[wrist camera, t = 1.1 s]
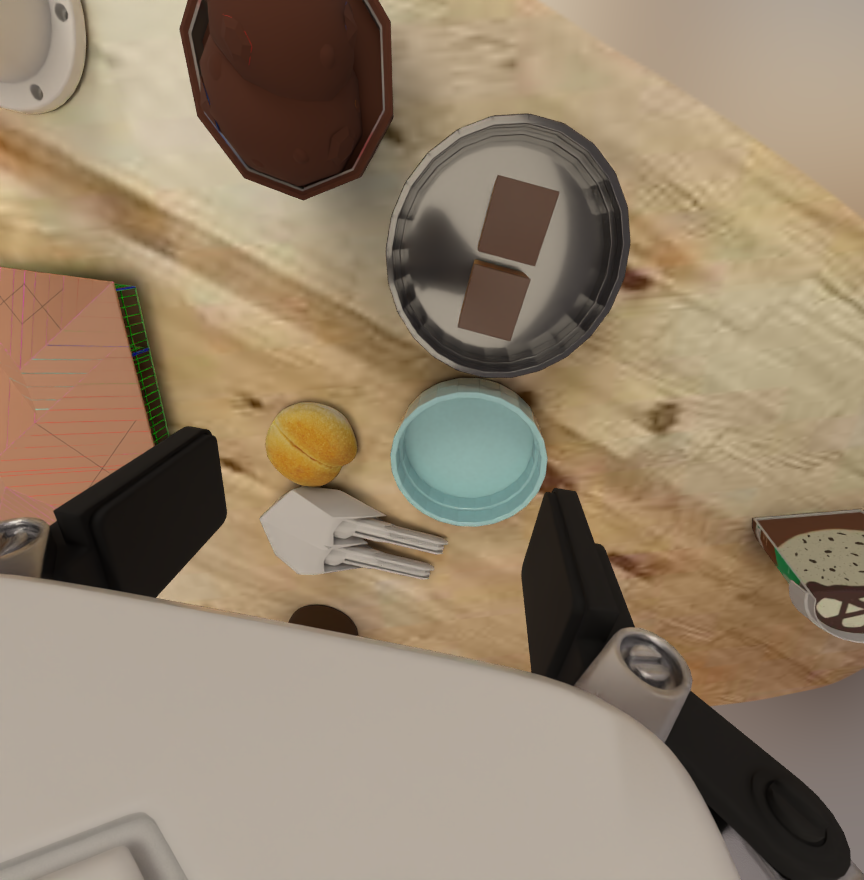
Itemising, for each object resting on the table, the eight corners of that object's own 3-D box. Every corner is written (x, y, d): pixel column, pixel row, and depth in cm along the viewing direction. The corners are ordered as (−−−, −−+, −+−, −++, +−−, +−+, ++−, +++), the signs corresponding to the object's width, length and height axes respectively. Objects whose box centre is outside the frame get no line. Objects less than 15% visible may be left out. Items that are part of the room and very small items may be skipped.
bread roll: (373, 435, 40) (364, 455, 37) (322, 486, 44) (309, 509, 40) (307, 379, 38) (290, 395, 35) (259, 438, 42) (239, 457, 38)
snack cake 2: (459, 315, 34) (457, 327, 29) (474, 259, 32) (474, 263, 27) (506, 327, 34) (510, 341, 30) (523, 272, 32) (531, 278, 27)
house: (29, 529, 52) (-43, 577, 45) (-104, 245, 36) (-248, 249, 29) (202, 556, 51) (157, 610, 44) (142, 277, 35) (56, 289, 28)
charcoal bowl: (380, 335, 36) (369, 347, 32) (421, 100, 28) (413, 81, 24) (561, 382, 36) (571, 400, 32) (652, 164, 28) (678, 154, 24)
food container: (728, 564, 43) (792, 650, 35) (735, 519, 41) (807, 600, 32) (861, 556, 41) (966, 645, 32) (879, 507, 38) (999, 590, 30)
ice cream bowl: (277, -15, 26) (67, -270, 13) (441, 53, 27) (405, -124, 13) (258, 173, 31) (92, 131, 18) (397, 226, 32) (338, 223, 18)
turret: (422, 570, 51) (423, 603, 47) (260, 533, 47) (246, 565, 43) (452, 512, 46) (457, 543, 42) (275, 465, 42) (261, 494, 38)
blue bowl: (387, 482, 43) (379, 506, 39) (414, 359, 36) (407, 373, 33) (513, 514, 43) (516, 541, 39) (562, 397, 37) (572, 416, 33)
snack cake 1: (477, 248, 31) (477, 251, 27) (494, 182, 29) (497, 174, 25) (527, 261, 31) (535, 266, 27) (548, 197, 29) (560, 191, 25)
